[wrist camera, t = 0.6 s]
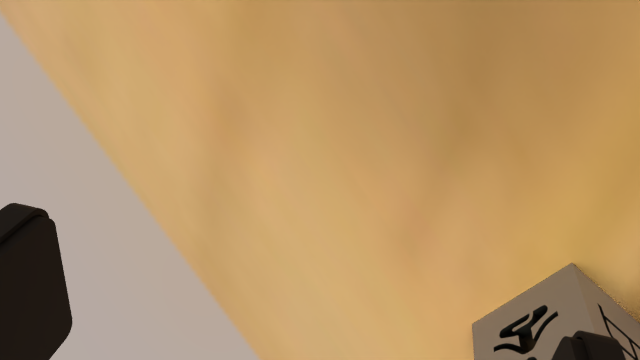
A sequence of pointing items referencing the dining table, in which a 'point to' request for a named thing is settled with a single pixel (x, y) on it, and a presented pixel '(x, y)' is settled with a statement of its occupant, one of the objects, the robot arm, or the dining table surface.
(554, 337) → the icon cube
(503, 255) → the dining table surface
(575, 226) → the dining table surface
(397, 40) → the dining table surface
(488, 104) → the dining table surface
